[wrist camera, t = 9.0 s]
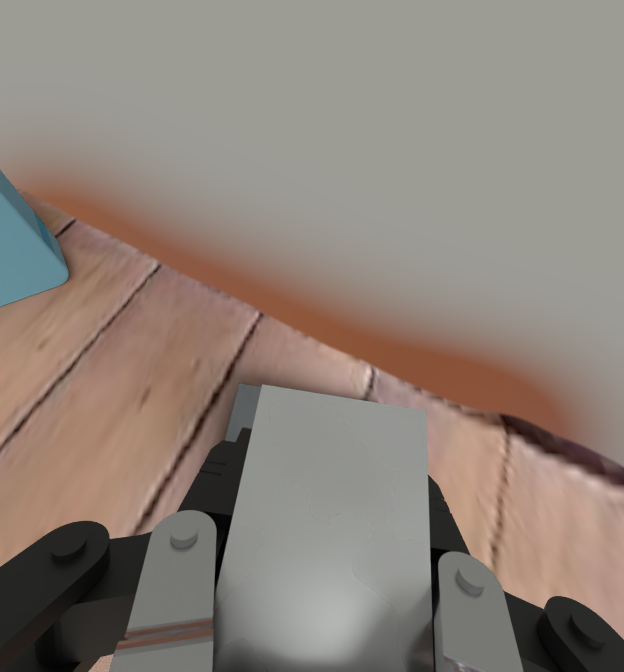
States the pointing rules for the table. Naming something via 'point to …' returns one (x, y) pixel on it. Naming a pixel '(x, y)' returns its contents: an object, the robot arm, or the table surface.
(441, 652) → the robot arm
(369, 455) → the block
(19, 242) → the data package
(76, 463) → the table surface
